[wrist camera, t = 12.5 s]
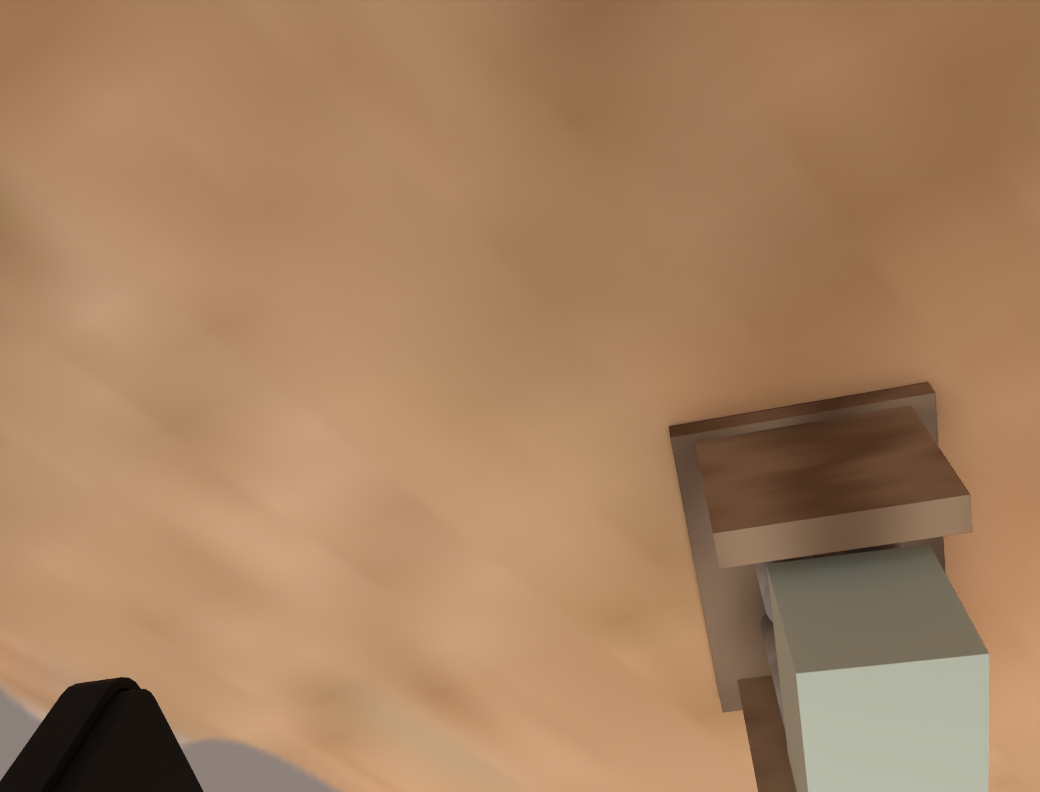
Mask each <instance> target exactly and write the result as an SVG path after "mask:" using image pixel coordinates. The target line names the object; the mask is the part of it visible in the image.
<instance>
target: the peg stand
mask: <svg viewBox="0 0 1040 792" xmlns="http://www.w3.org/2000/svg"><path fill="white" fill-rule="evenodd" d="M669 431H670V437H671V443H672V448H673V453H674V459H675V464H676V469H677V474H678V480H679V485H680V490H681V495H682V501H683V506H684V511H685V516H686V522H687V527H688V532H689V538H690V543H691V548H692V553H693V559H694V564H695V569H696V574H697V580H698V585H699V590H700V595H701V601H702V606H703V611H704V617H705V622H706V627H707V632H708V638H709V643H710V648H711V653H712V659H713V664H714V669H715V674H716V680H717V685H718V690H719V695H720V701H721V706H722V711H723V712H730V711H738V710H743V713H744V719H745V724H746V729H747V735H748V740H749V745H750V751H751V756H752V761H753V766H754V772H755V777H756V782H757V788H758V792H797V790H796V786H795V782H794V778H793V773H792V769H791V765H790V761H789V756H788V750H787V741H786V732H785V724H784V715H783V706H782V697H781V688H780V680H779V671H778V662H777V653H776V644H775V636H774V627H773V618H772V609H771V601H770V592H769V583H768V574H767V565H766V564H771V563H779V562H787V561H795V560H804V559H812V558H820V557H829V556H837V555H845V554H853V553H862V552H870V551H878V550H886V549H895V548H903V547H911V546H920V545H928V544H930V546H931V548H932V550H933V552H934V554H935V555H936V557H937V559H938V561H939V563H940V565H941V566H942V568H943V570H944V572H945V559H944V541H943V536H948V535H955V534H962V533H969V532H972V523H971V497H970V493H969V492H968V490H967V489H966V487H965V486H964V484H963V483H962V481H961V480H960V478H959V477H958V475H957V474H956V472H955V471H954V469H953V468H952V466H951V465H950V463H949V462H948V460H947V459H946V457H945V456H944V454H943V453H942V451H941V450H940V448H939V447H938V431H937V413H936V395H935V392H934V390H933V389H932V388H931V386H930V385H929V384H928V383H922V384H917V385H911V386H905V387H899V388H893V389H887V390H882V391H876V392H870V393H864V394H858V395H852V396H846V397H841V398H835V399H829V400H823V401H817V402H811V403H806V404H800V405H794V406H788V407H782V408H776V409H770V410H765V411H759V412H753V413H747V414H741V415H735V416H730V417H724V418H718V419H712V420H706V421H700V422H695V423H689V424H683V425H677V426H671V427H669Z"/></svg>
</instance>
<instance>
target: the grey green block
mask: <svg viewBox="0 0 1040 792" xmlns="http://www.w3.org/2000/svg"><path fill="white" fill-rule="evenodd" d="M766 565H767V574H768V583H769V592H770V601H771V609H772V618H773V627H774V636H775V644H776V653H777V662H778V671H779V680H780V688H781V697H782V706H783V715H784V724H785V732H786V741H787V750H788V756H789V761H790V765H791V769H792V773H793V778H794V782H795V786H796V790H797V792H988V749H989V652H988V651H987V649H986V647H985V645H984V643H983V641H982V640H981V638H980V636H979V634H978V632H977V630H976V629H975V627H974V625H973V623H972V621H971V619H970V618H969V616H968V614H967V612H966V610H965V608H964V607H963V605H962V603H961V601H960V599H959V598H958V596H957V594H956V592H955V590H954V588H953V587H952V585H951V583H950V581H949V579H948V577H947V576H946V574H945V572H944V570H943V568H942V566H941V565H940V563H939V561H938V559H937V557H936V555H935V554H934V552H933V550H932V548H931V546H930V544H928V545H920V546H911V547H903V548H895V549H886V550H878V551H870V552H862V553H853V554H845V555H837V556H829V557H820V558H812V559H804V560H795V561H787V562H779V563H771V564H766Z"/></svg>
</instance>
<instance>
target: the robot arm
mask: <svg viewBox="0 0 1040 792" xmlns="http://www.w3.org/2000/svg"><path fill="white" fill-rule="evenodd" d="M0 792H203V790H202V788H201V786H200V784H199V782H198V780H197V778H196V776H195V774H194V772H193V770H192V769H191V767H190V765H189V763H188V761H187V759H186V757H185V755H184V753H183V751H182V749H181V747H180V745H179V743H178V742H177V740H176V738H175V736H174V734H173V732H172V730H171V728H170V726H169V724H168V722H167V720H166V718H165V716H164V715H163V713H162V711H161V709H160V707H159V705H158V703H157V701H156V699H155V698H154V696H153V695H152V693H151V692H149V691H148V690H146V689H140V687H139V686H138V685H137V683H136V682H135V681H133V680H132V679H130V678H124V677H120V678H113V679H106V680H99V681H92V682H85V683H78V684H75V685H72V686H70V687H68V688H67V689H66V690H65V691H64V692H63V694H62V695H61V696H60V697H59V699H58V700H57V702H56V703H55V704H54V706H53V707H52V709H51V710H50V711H49V713H48V714H47V716H46V717H45V719H44V720H43V721H42V723H41V724H40V726H39V727H38V728H37V730H36V731H35V733H34V734H33V736H32V737H31V738H30V740H29V742H28V743H27V744H26V746H25V747H24V748H23V750H22V751H21V753H20V754H19V756H18V757H17V758H16V760H15V761H14V763H13V764H12V766H11V767H10V768H9V770H8V771H7V772H6V774H5V775H4V777H3V778H2V780H1V781H0Z"/></svg>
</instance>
